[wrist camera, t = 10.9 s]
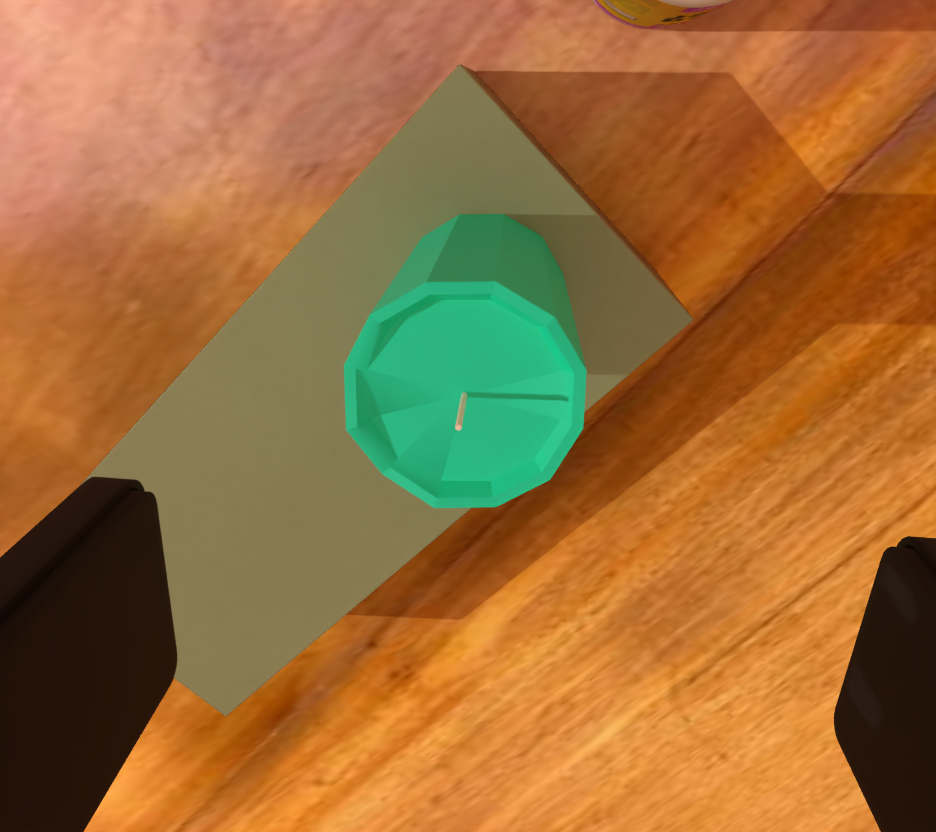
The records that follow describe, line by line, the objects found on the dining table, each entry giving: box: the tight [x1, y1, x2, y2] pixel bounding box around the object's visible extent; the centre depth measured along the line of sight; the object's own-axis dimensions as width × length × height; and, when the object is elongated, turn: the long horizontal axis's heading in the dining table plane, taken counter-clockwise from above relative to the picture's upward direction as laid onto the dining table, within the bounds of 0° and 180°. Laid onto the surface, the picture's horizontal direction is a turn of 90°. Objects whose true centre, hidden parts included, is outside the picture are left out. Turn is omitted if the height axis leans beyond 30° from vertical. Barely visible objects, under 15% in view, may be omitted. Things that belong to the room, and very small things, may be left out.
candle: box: [344, 214, 587, 508], centre depth 22 cm, size 6×6×12 cm
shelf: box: [82, 65, 693, 716], centre depth 35 cm, size 28×12×8 cm, turn 135°
